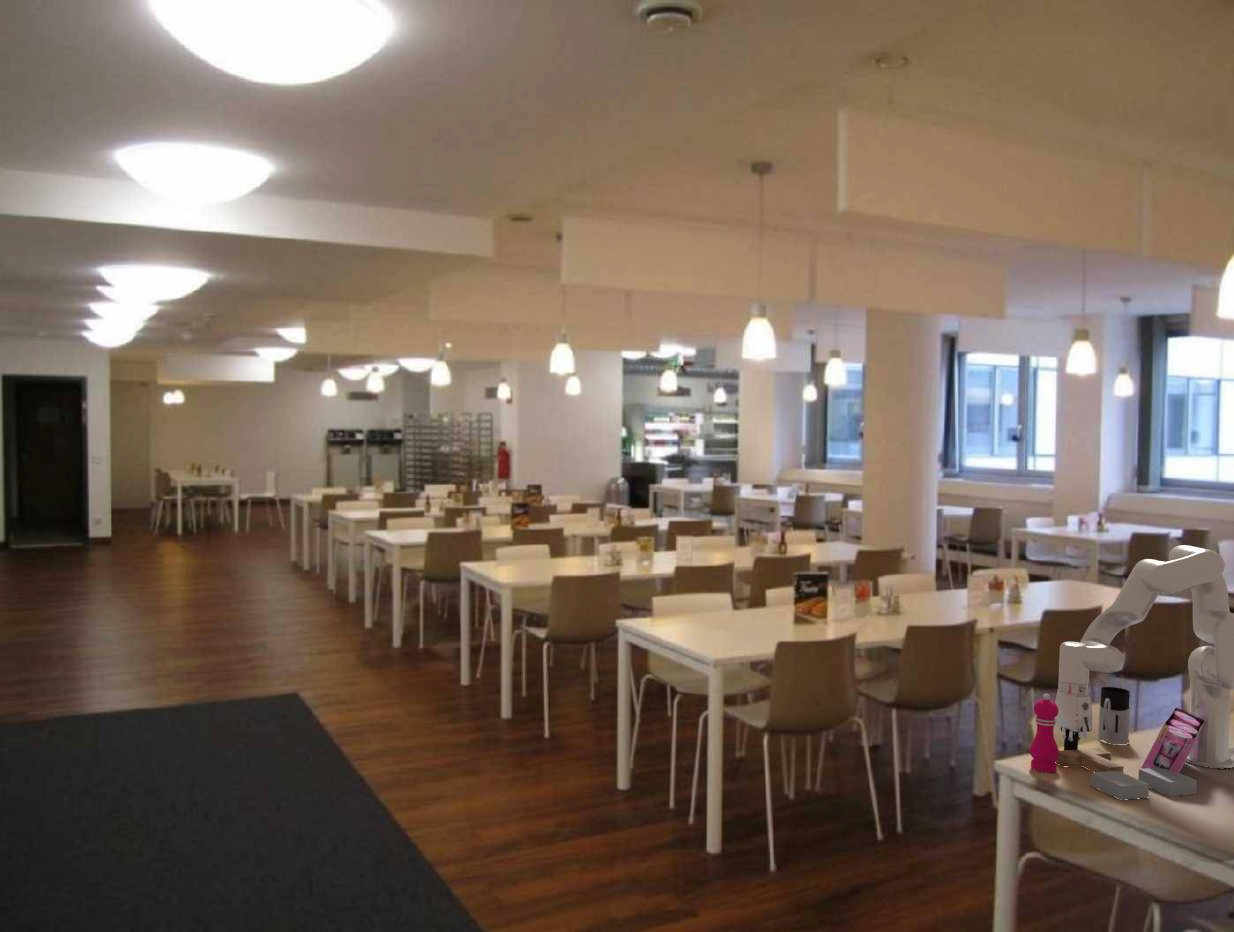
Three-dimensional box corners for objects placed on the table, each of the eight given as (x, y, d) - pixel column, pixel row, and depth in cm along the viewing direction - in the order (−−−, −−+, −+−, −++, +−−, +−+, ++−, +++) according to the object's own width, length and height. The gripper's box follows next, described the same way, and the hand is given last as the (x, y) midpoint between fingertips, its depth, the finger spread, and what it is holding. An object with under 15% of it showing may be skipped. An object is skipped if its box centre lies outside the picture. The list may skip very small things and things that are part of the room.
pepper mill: (1061, 774, 256) (1064, 698, 255) (1032, 772, 257) (1035, 696, 257) (1054, 766, 263) (1057, 691, 262) (1026, 763, 264) (1029, 689, 264)
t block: (1098, 758, 270) (1098, 748, 270) (1139, 776, 256) (1140, 765, 256) (1052, 762, 266) (1052, 751, 266) (1091, 780, 252) (1092, 768, 252)
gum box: (1171, 787, 250) (1194, 741, 247) (1139, 770, 254) (1161, 724, 251) (1184, 764, 269) (1206, 720, 266) (1154, 748, 273) (1175, 705, 270)
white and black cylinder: (1133, 741, 288) (1135, 690, 287) (1119, 751, 277) (1122, 698, 277) (1101, 734, 294) (1103, 684, 293) (1086, 744, 283) (1088, 693, 283)
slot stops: (1163, 780, 254) (1164, 767, 253) (1196, 794, 244) (1196, 780, 244) (1091, 786, 247) (1091, 772, 247) (1121, 800, 238) (1122, 786, 238)
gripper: (1104, 694, 264) (1102, 762, 264) (1065, 680, 278) (1063, 745, 278) (1081, 695, 262) (1078, 763, 262) (1043, 681, 276) (1040, 746, 276)
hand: (1070, 754), depth 270 cm, fingers closed
